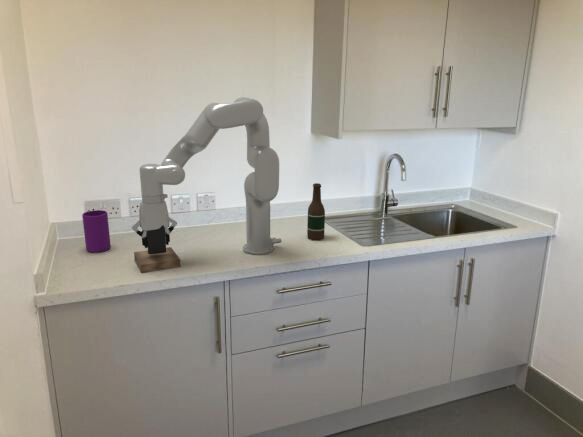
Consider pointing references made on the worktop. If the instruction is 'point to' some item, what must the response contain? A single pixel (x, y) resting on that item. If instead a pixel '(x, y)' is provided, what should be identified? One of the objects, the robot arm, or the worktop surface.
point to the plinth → (156, 260)
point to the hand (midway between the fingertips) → (156, 245)
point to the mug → (96, 231)
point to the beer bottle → (316, 216)
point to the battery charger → (156, 240)
